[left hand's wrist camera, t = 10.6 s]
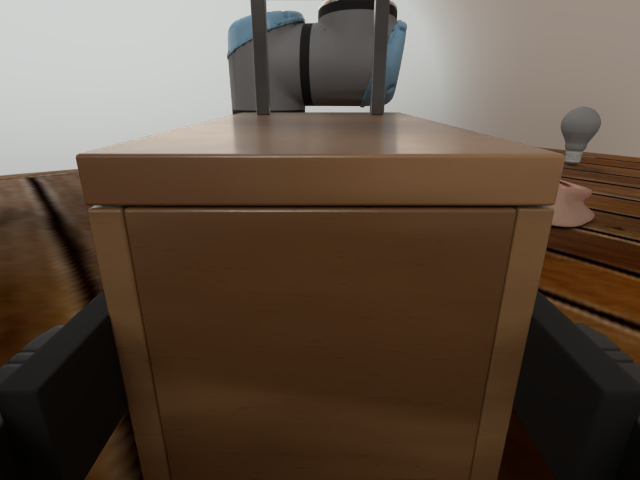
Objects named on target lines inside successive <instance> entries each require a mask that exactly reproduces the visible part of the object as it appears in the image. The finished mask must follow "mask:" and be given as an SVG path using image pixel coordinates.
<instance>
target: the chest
mask: <svg viewBox="0 0 640 480" xmlns="http://www.w3.org/2000/svg"><path fill="white" fill-rule="evenodd" d="M553 215H554V209H553V208H551V207H549V206H93V207H91V208H89V209H88V217H89V222H90V227H91V232H92V236H93V241H94V246H95V251H96V255H97V260H98V265H99V270H100V274H101V279H102V284H103V289H104V293H105V298H106V303H107V308H108V312H109V317H110V322H111V327H112V331H113V336H114V341H115V346H116V350H117V355H118V360H119V365H120V369H121V374H122V379H123V384H124V388H125V393H126V398H127V402H128V407H129V412H130V417H131V422H132V426H133V431H134V436H135V441H136V445H137V450H138V455H139V460H140V464H141V469H142V474H143V479H144V480H497V479H498V474H499V469H500V464H501V460H502V455H503V450H504V446H505V441H506V436H507V431H508V427H509V422H510V417H511V413H512V406H513V402H514V397H515V392H516V388H517V383H518V378H519V373H520V369H521V364H522V359H523V355H524V350H525V345H526V340H527V336H528V331H529V326H530V321H531V317H532V314H533V309H534V304H535V300H536V295H537V290H538V286H539V281H540V276H541V271H542V267H543V262H544V257H545V253H546V248H547V243H548V239H549V234H550V229H551V224H552V220H553Z"/></svg>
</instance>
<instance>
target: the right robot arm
mask: <svg viewBox="0 0 640 480" xmlns="http://www.w3.org/2000/svg"><path fill="white" fill-rule="evenodd" d="M374 1H375V0H325V1H324V2H323V3H322V5H321V6H320V7H319V11H318V12H319V13H318V23H310V24H305V19H304V18H303V15H302V14H301V13H299V12H296V11H284V12H282V11H272V12H266V16H267V40H268V65H269V89H270V113H305V106H360V107H364V106H370V97H371V73H372V49H373V25H374ZM406 29H407V25H406V23H405V22H402V21H401V20H398V21H397V6H396V5H395V4H394V2H393V1H392V0H390V5H389V24H388V43H387V62H386V81H385V99H384V105H385V104H387V103H388V102H390V101H391V99H392V98H393V96H394V92H395V88H396V84H397V80H398V75H399V70H400V65H401V60H402V54H403V49H404V43H405V35H406ZM227 58H228V60H229V73H230V85H231V98H232V110H233V115H234V114H238V113H257V112H256V93H255V74H254V55H253V36H252V17H251V15H250V16H246V17H243V18H241V19H239V20H237V21H235V22H234V23H233V24H232V25H231V26H230V28H229V31H228V55H227Z"/></svg>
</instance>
